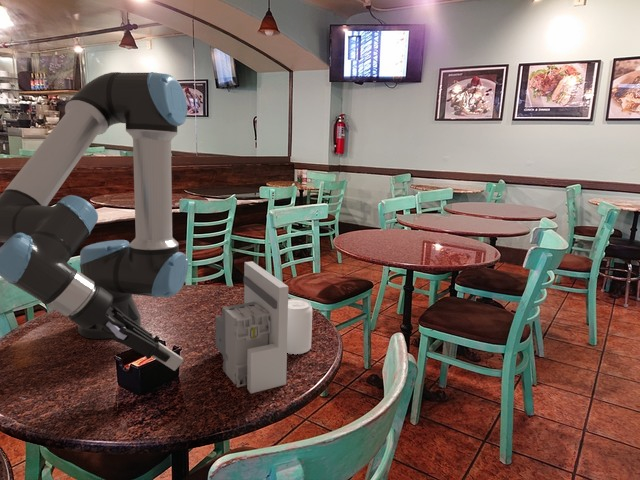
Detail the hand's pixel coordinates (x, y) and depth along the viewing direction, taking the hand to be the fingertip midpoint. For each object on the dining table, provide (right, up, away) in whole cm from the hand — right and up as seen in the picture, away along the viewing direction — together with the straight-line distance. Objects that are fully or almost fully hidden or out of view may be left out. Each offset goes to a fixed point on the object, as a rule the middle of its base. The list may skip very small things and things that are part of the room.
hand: (178, 364), depth 94 cm
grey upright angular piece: (+14, -3, +9) cm, 17 cm away
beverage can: (+23, -1, +19) cm, 30 cm away
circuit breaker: (+12, -3, +8) cm, 15 cm away
